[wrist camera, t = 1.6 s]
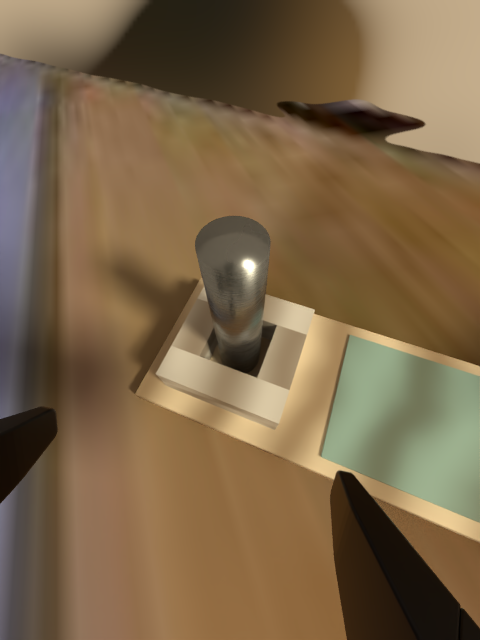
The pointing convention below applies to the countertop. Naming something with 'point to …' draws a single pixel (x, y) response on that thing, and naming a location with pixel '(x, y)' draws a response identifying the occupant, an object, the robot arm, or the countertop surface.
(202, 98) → the countertop surface
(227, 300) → the key rod
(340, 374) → the board
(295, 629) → the countertop surface
